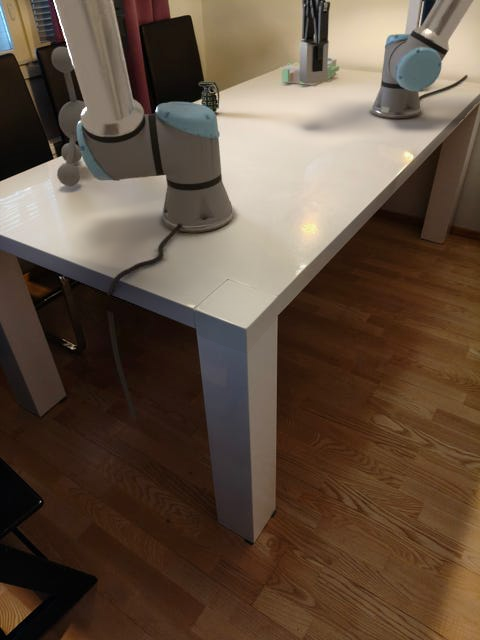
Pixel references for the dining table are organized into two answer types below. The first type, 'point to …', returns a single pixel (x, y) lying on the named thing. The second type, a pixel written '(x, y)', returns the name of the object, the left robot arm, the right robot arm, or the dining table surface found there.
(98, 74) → the left robot arm
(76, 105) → the molecular model
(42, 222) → the dining table surface
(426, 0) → the electronic device
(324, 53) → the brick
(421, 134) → the dining table surface
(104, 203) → the dining table surface
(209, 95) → the grenade
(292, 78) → the decorative block
